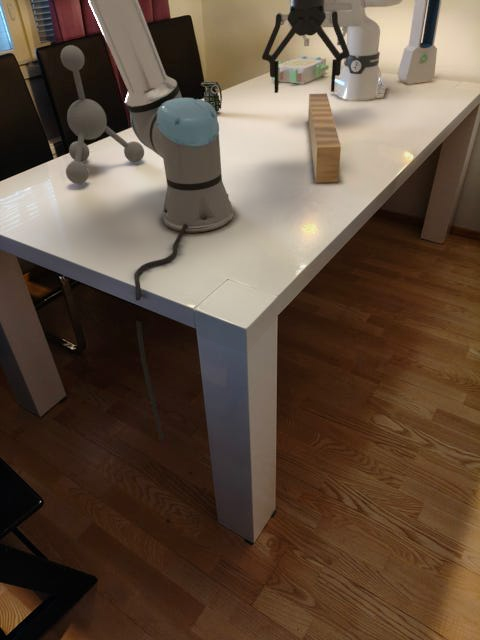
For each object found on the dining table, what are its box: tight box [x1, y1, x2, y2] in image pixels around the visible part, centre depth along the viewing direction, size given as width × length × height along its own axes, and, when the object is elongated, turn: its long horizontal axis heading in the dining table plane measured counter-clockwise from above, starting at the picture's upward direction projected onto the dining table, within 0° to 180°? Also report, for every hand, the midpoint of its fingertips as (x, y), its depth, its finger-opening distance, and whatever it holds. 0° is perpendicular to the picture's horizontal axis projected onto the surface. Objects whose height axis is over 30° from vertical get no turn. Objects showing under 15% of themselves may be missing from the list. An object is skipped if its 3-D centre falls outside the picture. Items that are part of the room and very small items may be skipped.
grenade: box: [200, 81, 223, 114], centre depth 169 cm, size 7×6×10 cm
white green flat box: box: [271, 55, 330, 85], centre depth 207 cm, size 26×6×20 cm
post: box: [307, 92, 342, 184], centre depth 136 cm, size 50×6×9 cm, turn 176°
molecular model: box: [60, 44, 145, 185], centre depth 125 cm, size 24×22×30 cm
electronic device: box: [397, 0, 442, 85], centre depth 186 cm, size 12×8×30 cm, turn 105°
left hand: (304, 91), depth 119 cm, fingers open, 13 cm apart
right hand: (323, 45), depth 141 cm, fingers open, 8 cm apart
